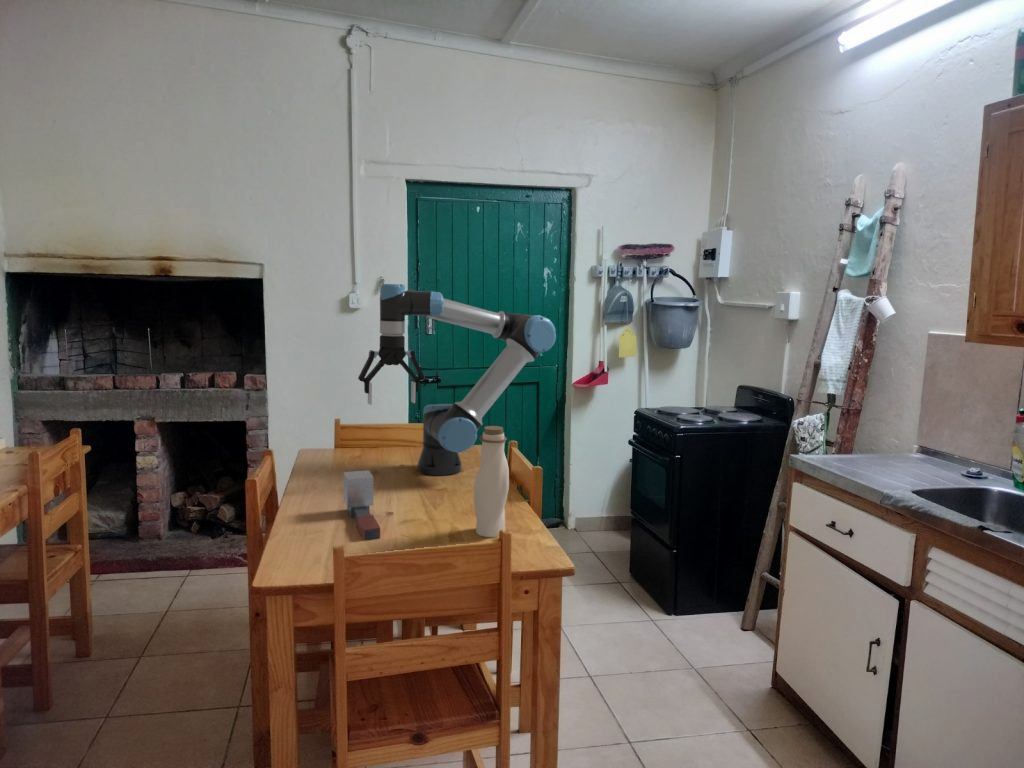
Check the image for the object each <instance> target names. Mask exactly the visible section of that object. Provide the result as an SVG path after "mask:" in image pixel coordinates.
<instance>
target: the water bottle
mask: <svg viewBox="0 0 1024 768" xmlns="http://www.w3.org/2000/svg"><path fill="white" fill-rule="evenodd" d="M478 438H479V441H480V442H482V443H481V449H480V467H479V470H478V471H477V472H476V477H475V479H474V480H475V481H474V487H473V488H474V490H473V505H474V512H475V516H476V526H475V534H477V535H478V536H480V537H484V538H498V537H499V536H498V533H499V531H500V530H503V531H505V532H506V510H505V506H506V503H507V499H508V494H509V489H510V470H509V469H510V468H509V464H508V460H507V457H506V454H505V446H506V445H505V444H506V442H507V440H508V439H507V436H505V432H504V427H503V426H499V425H488V426H487V425H486V426H484V428H483V432H482V435H481V436H480V437H478Z"/></svg>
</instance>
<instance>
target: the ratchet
mask: <svg viewBox="0 0 1024 768" xmlns="http://www.w3.org/2000/svg"><path fill="white" fill-rule="evenodd" d="M346 511H347V512H348V515H349V517H350V518H351V519H352V518H353V519H354V521H355V523H356V528H357V530H358V532H359V534H360V536H361V538H362V540H363V541H367V540H378V539H381V527H380V525H379V523H378V521H377V520H376V517H375V516H374V514H371V513H370V506H359V507H348V508H347V507H346Z"/></svg>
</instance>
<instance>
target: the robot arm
mask: <svg viewBox="0 0 1024 768" xmlns="http://www.w3.org/2000/svg"><path fill="white" fill-rule="evenodd" d="M406 316H420V317H422V318H423V317H425V318H427V319H433V320H436V321H440V322H443V323H448V324H452V325H456V326H459V327H464V328H467V329H471V330H475V331H479V332H482V333H487V334H491V335H492V337H493V339H498V340H501V341H504V342H506V347H504V349H503V350H502V351H501V353H500V354H499V355H498V356H497V358H496V359H495V360H494V361H493V363H492V364H491V365H490V366H489V368H488V369H487V370H486V371H485V372H484V374H483V375H482V376H481V377H480V378H479V380H478V381H477V382H476V383H475V385H474V386H473V387H472V388H471V389H470V390H469V392H468V393H467V394H466V395H465V397H463V399H462V400H461V401H456V402H454V403H437V404H427V405H425V406H424V407H423V413H422V417H423V427H422V429H423V430H422V431H423V433H422V436H423V437H422V439H423V440H422V442H423V444H422V450H421V453H420V456H419V459H418V461H417V471H418V472H420V473H421V474H424V475H429V476H450V475H454V474H457V473H460V472H462V466H463V465H462V460H461V458H460V454H459V453H463V452H466V451H467V450H469V449H470V448H472V447H473V446H474V445H475V443H476V440H477V438H478V431H479V429H480V428H481V427H482V426H483V417H484V416H485V414H486V413H487V412H489V410H490V408H491V407H492V406H493V405H494V403H495V402H496V401H497V400H498V399H499V398H500V396H502V394H503V392H504V391H505V390H506V389H507V387H508V386H509V385H510V384H511V382H512V381H513V380H514V379H515V378H516V376H517V375H518V374H519V373H520V372H521V370H522V369H523V368H524V367H525V365H526V364H527V363H531V362H534V361H536V359H537V358H538V356H540V354H541V353H545V352H548V351H549V350H551V349H552V347H553V346H554V344H555V342H556V340H557V333H556V327H555V324H554V323H553V322H552V321H551V320H550V319H549V318H547V317H545V316H542V315H540V314H538V315H536V314H535V315H533V314H529V313H528V314H526V313H511V312H505V311H503V310H500V311H498V312H495V311H492V310H491V311H490V310H488V309H484V308H480V307H476V306H473V305H469V304H466V303H462V302H459V301H454V300H452V299H448V298H444V296H443V293H441V292H439V291H432V290H431V291H429V290H428V291H427V290H425V291H423V290H414V289H406V285H404V284H399V283H383V284H382V285H381V286H380V290H379V334H381V335H380V336H379V349H378V350H379V351H375V350H372V349H371V350H369V351H368V357H367V359H366V361H365V363H364V364H363V367H362V369H361V371H360V373H359V376H358V378H357V380H359V381H360V382H363V387H364V389H363V390H364V394H367V404H368V405H370V406H371V405H373V383H372V382H371V381H372V380H373V378H374V377H375V376H376V375H377V374H378V372H380V370H381V369H382V368H383V367H384V366H385V365H386V366H398V365H400V366H401V367H402V368H403V369H404V370H405V372H406V373H407V374H408V376H410V378H411V379H412V380H411V381H410V402H411V403H412V404H416V393H417V392H419V388H420V387H419V386H420V385H419V383H420V381H424V380H425V375H424V373H423V371H422V369H421V367H420V365H419V362H418V360H417V359H416V353H415V350H412V349H409V350H405V348H406V347H405V346H406V345H405V344H406V343H405V340H406V337H405V335H404V334H405V329H406V328H405V327H406V326H405V325H406V323H405V321H406ZM377 356H378V358H380V359H379V361H378V362H377V363H376V365H375V366H374V367H373V368H372V369H371V371H370V372H369V370H370V367H371V366H372V364H373V362H374V359H376V358H377ZM406 356H407V358H409V359H410V361H411V363H412V366H413V368H414V370H415V373H416V374H417V375H416V374H415V373H414V372H413V370H412V369H411V368H410V366H409V365H408V364H407V362H405V360H404V358H406ZM368 372H369V373H368ZM367 373H368V374H367Z"/></svg>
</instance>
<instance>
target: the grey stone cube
mask: <svg viewBox="0 0 1024 768" xmlns="http://www.w3.org/2000/svg"><path fill="white" fill-rule="evenodd" d="M343 502H344V504H345V505H346V509H347V508H348V507H359V506H369V507H370V506H374V476H373V474H372V472H371V471H370V470H369V469H368V470H367V469H366V470H356V471H343Z"/></svg>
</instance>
